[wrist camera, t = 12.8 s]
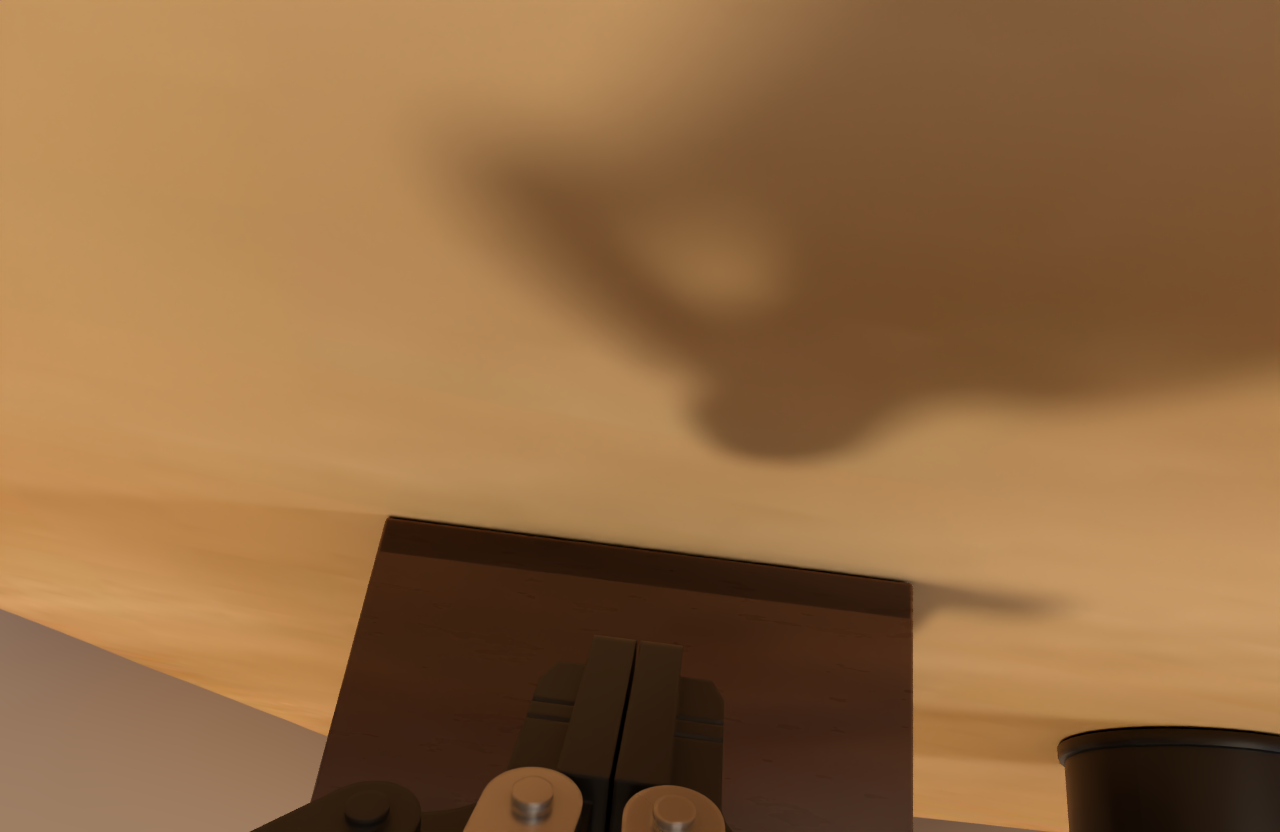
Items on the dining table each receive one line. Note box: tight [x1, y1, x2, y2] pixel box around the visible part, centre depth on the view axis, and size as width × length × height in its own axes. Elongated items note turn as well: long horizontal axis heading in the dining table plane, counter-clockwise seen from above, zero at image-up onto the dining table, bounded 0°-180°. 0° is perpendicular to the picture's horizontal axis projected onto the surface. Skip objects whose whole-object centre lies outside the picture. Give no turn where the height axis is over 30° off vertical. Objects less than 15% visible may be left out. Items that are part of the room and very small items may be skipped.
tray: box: [311, 518, 913, 832], centre depth 29 cm, size 19×13×10 cm
